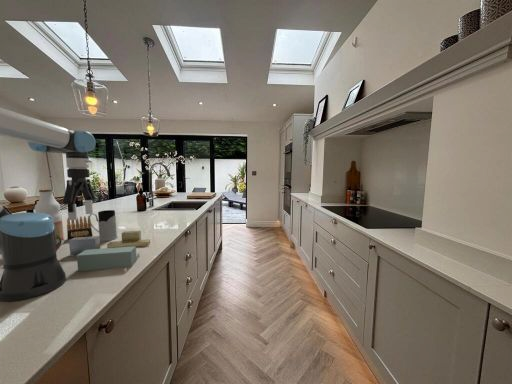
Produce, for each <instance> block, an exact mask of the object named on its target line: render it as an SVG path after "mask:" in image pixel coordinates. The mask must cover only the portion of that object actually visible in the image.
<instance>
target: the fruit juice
mask: <svg viewBox="0 0 512 384" xmlns="http://www.w3.org/2000/svg"><path fill="white" fill-rule="evenodd" d="M38 192H39V200H38V201H37V203H36V204H35V206H34V212H35V213H44V214H48V215H50V216H51V217H52V219H53V223H54V226H55V228H54V233H55V234H56V235H58V236H60V238H61V245H60V246H62V245H64V243H65V237H64V227H63V226H64V225H63V218H62V214H61V204H60V203H59V202H58V201H57V200H56V198H55V196H54V194H53V193H54V189H53V188H41V189H39V190H38Z"/></svg>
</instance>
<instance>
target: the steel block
mask: <svg viewBox="0 0 512 384" xmlns="http://www.w3.org/2000/svg"><path fill="white" fill-rule="evenodd" d="M68 245H69V255H70V256H71V257H72V255H73V256H77V255H78V254H80V253H82V252H83V251H85V250H90V249H101V241H100V236H99V235H96V236H95V235H93V236H92V237H75V238H73V239H71V240H68Z"/></svg>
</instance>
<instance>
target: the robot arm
mask: <svg viewBox="0 0 512 384" xmlns="http://www.w3.org/2000/svg"><path fill="white" fill-rule="evenodd" d="M0 136H3V137H8V138H10V139H11V138H12V139H16V140H21V141H25V142H27V144H28V146H29V148H30V149H31V150H32V151H34V152H40V153H50V154H63V155H64V154H65V160H66V161H65V162H66V163H65V164H66V168H67V170H66V172H67V173H66V174H67V175H66V176H67V178H71V179H67V180H66V187H65V191H64V196H63V201H62V203H63V205H64V206H65V205H66V206H67V219H68V220H70V221H71V220H74V221H76V220H77V218H78V212H77V204H76V200H77V197H78V195H79V192H81V194H82V195H83V197H84V199H85V200H84V207H85V209H84V210H85V215H90V214H92V215H93V214H94V208H93V201H94V200H96V199H95V198H96V197H95V193H94V190H93V188H92V185H91V184H92V183H91V180H90V179H89V178H90V170H89V168H90V166H89V165H90V164H89V163H90V160H89V152H91V151H93V150H94V149H95V148H96V143H97V142H96V139H95V137H94V135H93V134H92V133H91V132H89V131H86V130H72V129H70V128H66V127H63V126H60V125H57V124H54V123H50V122H47V121H46V120H45V121H43V120H41V119H37V118H35V117H32V116H28V115H25V114H22V113H19V112H17V111H16V112H15V111H12V110H9V109H6V108H4V107H0ZM54 228H55V226H54V223H53V219H52V217H51V216H50V215H48V214H44V213H36V212H29V211H28V212H17V213H16V212H15V213H10V212H9V211H8V210H7V209H6V208H5V207H4V206H3V205H2V204H0V255H1V259H2V264H3V265H2V266H3V267H2V268H3V272H2V275H1V277H0V301H2V302H17V301H21V300H22V301H24V300H27V299H31V298H36V297H38V296H41V295H44V294H47V293H50V292H51V291H54V290H55V289H57V288H59V287H61V286H62V285H64V284H65V282H66V281H67V277H66V271H64V269H63V267H62V265H61V264H60V262H59V260H58V257H57V250H56V244H55V233H54Z"/></svg>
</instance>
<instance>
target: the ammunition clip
mask: <svg viewBox="0 0 512 384" xmlns="http://www.w3.org/2000/svg"><path fill="white" fill-rule="evenodd" d="M66 223H67V224H66V231H67V232H66V233H67V241H69V240H71V239H73V238H75V237H92V236H94V235H93V227H92V226H91V224H90V222H89V215H87V217H86V216H84V217H83V218H82V216H80V217H79V218H78V217H77V220H68V218H67V219H66Z"/></svg>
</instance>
